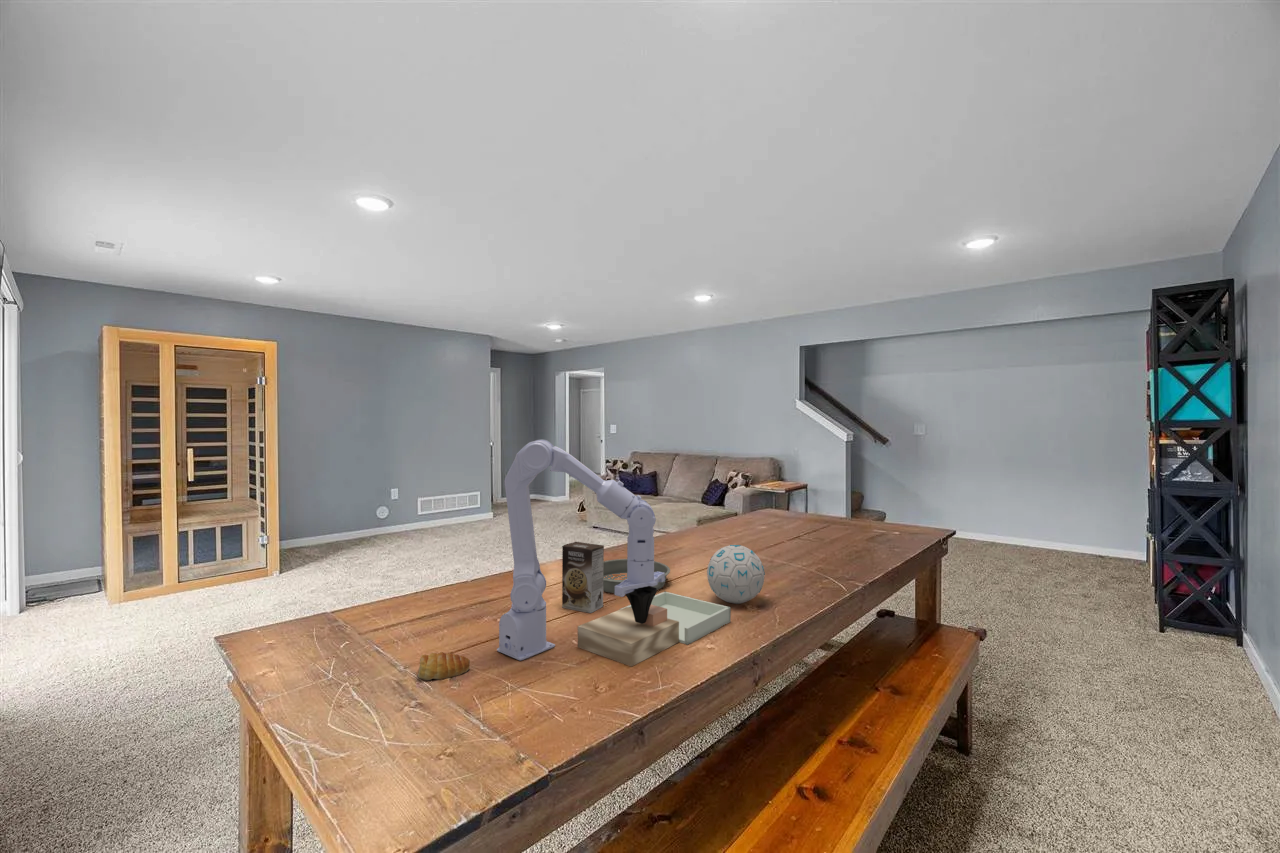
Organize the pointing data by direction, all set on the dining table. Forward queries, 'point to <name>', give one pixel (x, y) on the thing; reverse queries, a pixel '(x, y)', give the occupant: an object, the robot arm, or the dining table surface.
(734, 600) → the puzzle ball
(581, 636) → the block
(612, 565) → the cake pan
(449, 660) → the pastry
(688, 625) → the tray
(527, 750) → the dining table surface
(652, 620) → the tile near
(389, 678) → the dining table surface
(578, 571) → the coffee box
